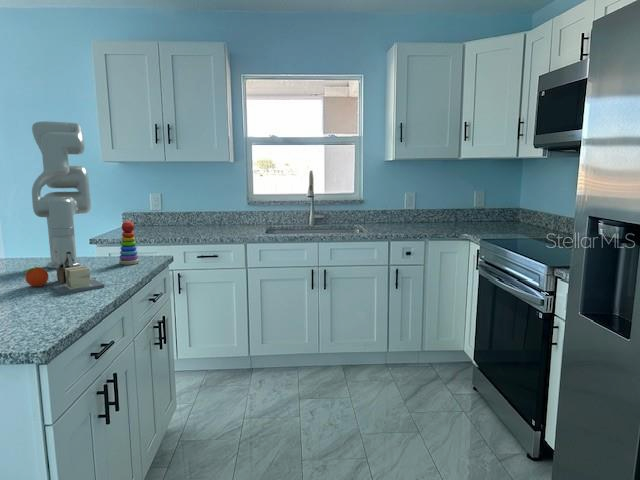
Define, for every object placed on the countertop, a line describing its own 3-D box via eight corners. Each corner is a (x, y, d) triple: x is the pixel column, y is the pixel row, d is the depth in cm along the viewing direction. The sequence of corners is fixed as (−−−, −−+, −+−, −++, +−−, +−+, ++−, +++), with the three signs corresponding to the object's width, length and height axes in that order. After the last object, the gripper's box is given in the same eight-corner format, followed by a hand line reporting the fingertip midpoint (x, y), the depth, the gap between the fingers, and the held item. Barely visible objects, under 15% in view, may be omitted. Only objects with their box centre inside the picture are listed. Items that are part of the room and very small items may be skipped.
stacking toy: (131, 265, 191) (129, 222, 188) (115, 264, 192) (112, 222, 189) (142, 261, 198) (140, 220, 195) (126, 261, 200) (124, 220, 197)
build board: (52, 289, 154) (51, 286, 154) (94, 281, 164) (94, 279, 164) (60, 295, 147) (60, 291, 147) (104, 287, 157) (104, 284, 157)
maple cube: (66, 284, 155) (64, 268, 154) (84, 282, 160) (83, 265, 159) (71, 288, 151) (70, 271, 150) (90, 285, 155) (88, 268, 154)
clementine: (29, 290, 152) (27, 270, 151) (19, 287, 156) (17, 268, 154) (53, 285, 159) (51, 266, 158) (43, 282, 162) (41, 263, 161)
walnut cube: (57, 281, 164) (56, 268, 164) (72, 279, 168) (71, 266, 167) (61, 283, 161) (60, 270, 160) (76, 281, 165) (75, 268, 164)
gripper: (44, 230, 165) (49, 278, 168) (57, 236, 153) (62, 286, 156) (66, 229, 170) (70, 274, 173) (81, 233, 158) (85, 283, 161)
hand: (66, 280), depth 164 cm, fingers closed on walnut cube, 5 cm apart
